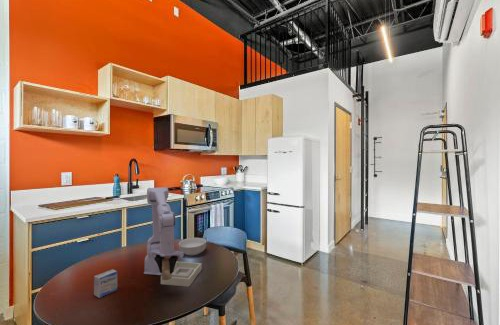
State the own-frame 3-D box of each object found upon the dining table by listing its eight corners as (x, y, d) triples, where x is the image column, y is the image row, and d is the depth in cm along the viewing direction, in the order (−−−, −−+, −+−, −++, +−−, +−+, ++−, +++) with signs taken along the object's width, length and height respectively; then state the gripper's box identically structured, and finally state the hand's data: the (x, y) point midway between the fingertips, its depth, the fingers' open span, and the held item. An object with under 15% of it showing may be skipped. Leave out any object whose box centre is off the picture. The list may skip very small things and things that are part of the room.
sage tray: (160, 284, 114) (160, 276, 114) (176, 267, 131) (176, 261, 131) (189, 286, 112) (189, 279, 112) (201, 269, 129) (201, 263, 129)
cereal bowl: (186, 247, 161) (186, 236, 161) (210, 249, 158) (210, 238, 158) (173, 257, 145) (173, 245, 145) (199, 260, 141) (199, 248, 141)
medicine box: (99, 298, 102) (99, 278, 102) (93, 295, 105) (93, 275, 105) (117, 290, 109) (117, 271, 109) (112, 287, 111) (112, 268, 111)
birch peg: (160, 279, 104) (160, 261, 104) (164, 275, 108) (164, 257, 108) (168, 280, 103) (169, 261, 103) (173, 275, 107) (173, 258, 107)
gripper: (146, 243, 102) (146, 275, 103) (178, 245, 100) (178, 278, 101) (154, 237, 109) (154, 267, 110) (185, 239, 107) (185, 270, 108)
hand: (166, 272), depth 106 cm, fingers closed on birch peg, 4 cm apart
